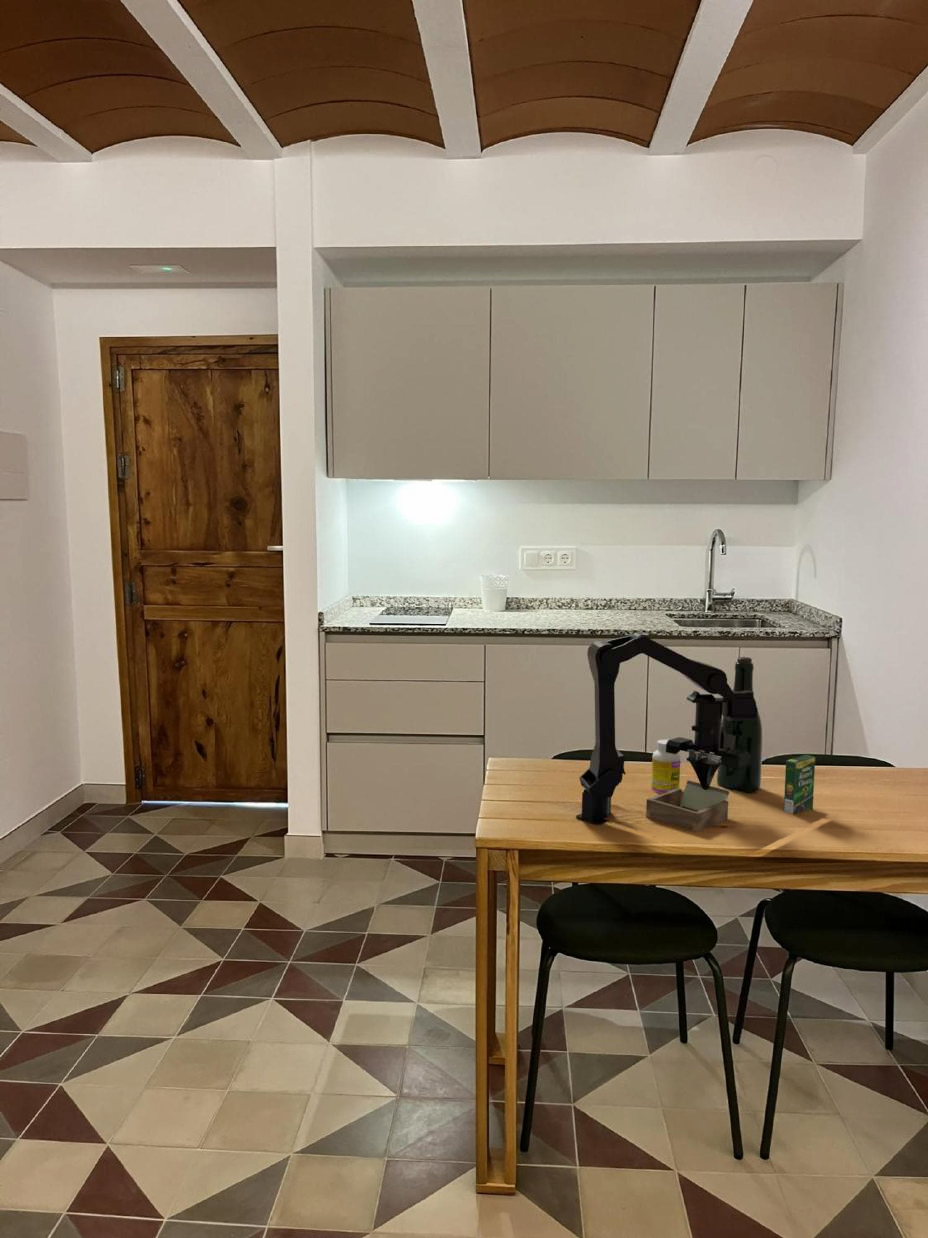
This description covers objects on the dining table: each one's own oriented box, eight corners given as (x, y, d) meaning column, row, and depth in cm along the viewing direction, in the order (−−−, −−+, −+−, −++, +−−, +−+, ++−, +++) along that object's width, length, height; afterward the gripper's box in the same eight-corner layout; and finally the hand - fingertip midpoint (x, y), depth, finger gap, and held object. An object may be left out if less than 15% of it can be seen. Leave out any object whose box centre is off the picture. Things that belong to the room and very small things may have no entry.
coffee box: (793, 819, 204) (796, 762, 202) (781, 815, 206) (784, 759, 204) (813, 812, 208) (816, 756, 207) (802, 809, 211) (805, 753, 209)
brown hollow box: (697, 836, 192) (698, 814, 191) (645, 821, 201) (646, 799, 201) (727, 823, 200) (728, 801, 200) (676, 809, 210) (677, 788, 209)
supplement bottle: (671, 799, 216) (673, 747, 215) (646, 794, 220) (648, 742, 219) (683, 792, 222) (685, 741, 220) (658, 787, 226) (660, 737, 224)
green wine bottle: (755, 797, 219) (762, 662, 214) (711, 790, 224) (717, 658, 220) (764, 786, 228) (771, 656, 224) (722, 779, 233) (727, 652, 229)
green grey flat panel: (719, 816, 200) (727, 790, 202) (679, 805, 208) (687, 780, 209) (721, 817, 201) (729, 791, 202) (682, 806, 209) (689, 781, 210)
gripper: (764, 723, 202) (761, 791, 204) (692, 710, 216) (689, 774, 217) (738, 731, 194) (735, 801, 196) (665, 716, 208) (662, 783, 210)
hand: (705, 789), depth 205 cm, fingers closed, pressing on green grey flat panel
